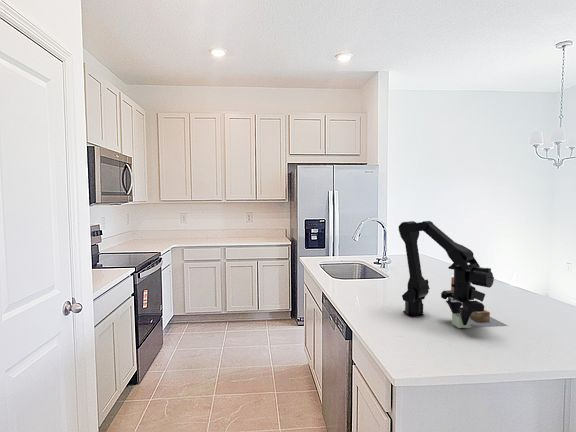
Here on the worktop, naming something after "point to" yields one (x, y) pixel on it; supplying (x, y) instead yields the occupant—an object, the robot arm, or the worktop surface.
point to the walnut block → (480, 316)
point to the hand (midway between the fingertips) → (460, 322)
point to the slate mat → (487, 323)
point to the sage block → (459, 321)
